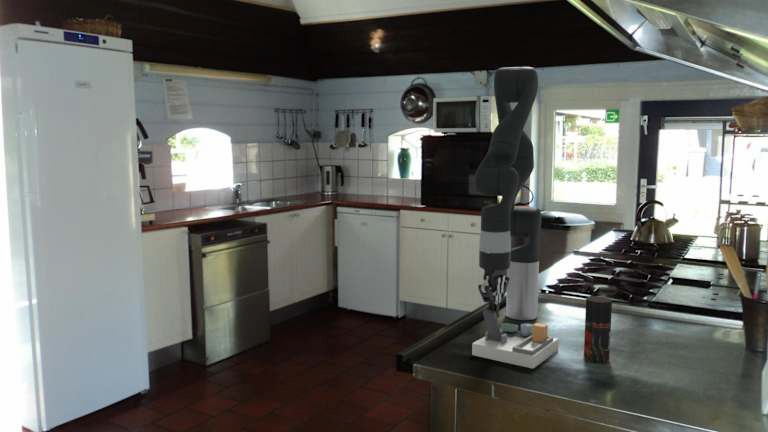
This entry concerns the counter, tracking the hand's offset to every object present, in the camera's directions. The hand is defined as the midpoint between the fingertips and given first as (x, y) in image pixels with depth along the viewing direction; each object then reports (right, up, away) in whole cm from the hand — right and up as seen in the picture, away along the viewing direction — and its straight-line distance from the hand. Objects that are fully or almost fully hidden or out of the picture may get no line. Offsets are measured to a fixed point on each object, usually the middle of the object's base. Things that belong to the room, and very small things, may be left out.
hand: (493, 317), depth 157 cm
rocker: (+5, -5, +8) cm, 11 cm away
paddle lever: (+1, -6, +2) cm, 7 cm away
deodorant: (+25, -10, -2) cm, 27 cm away
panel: (+6, -9, +3) cm, 11 cm away
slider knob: (+12, -6, +2) cm, 14 cm away
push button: (+10, -6, +7) cm, 13 cm away
